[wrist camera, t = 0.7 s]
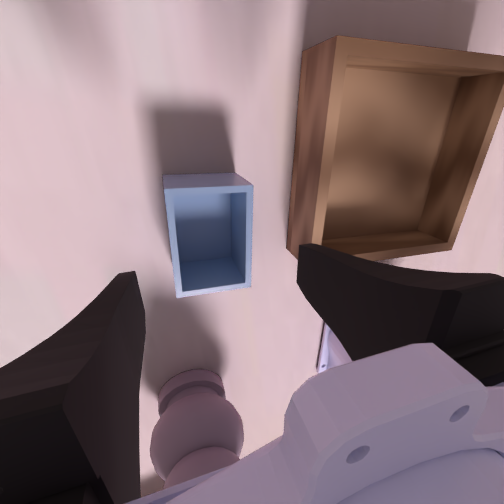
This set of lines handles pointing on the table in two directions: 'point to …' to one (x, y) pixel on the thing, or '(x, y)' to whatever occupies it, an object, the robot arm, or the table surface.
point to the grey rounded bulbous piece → (194, 428)
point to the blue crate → (209, 231)
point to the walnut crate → (389, 145)
